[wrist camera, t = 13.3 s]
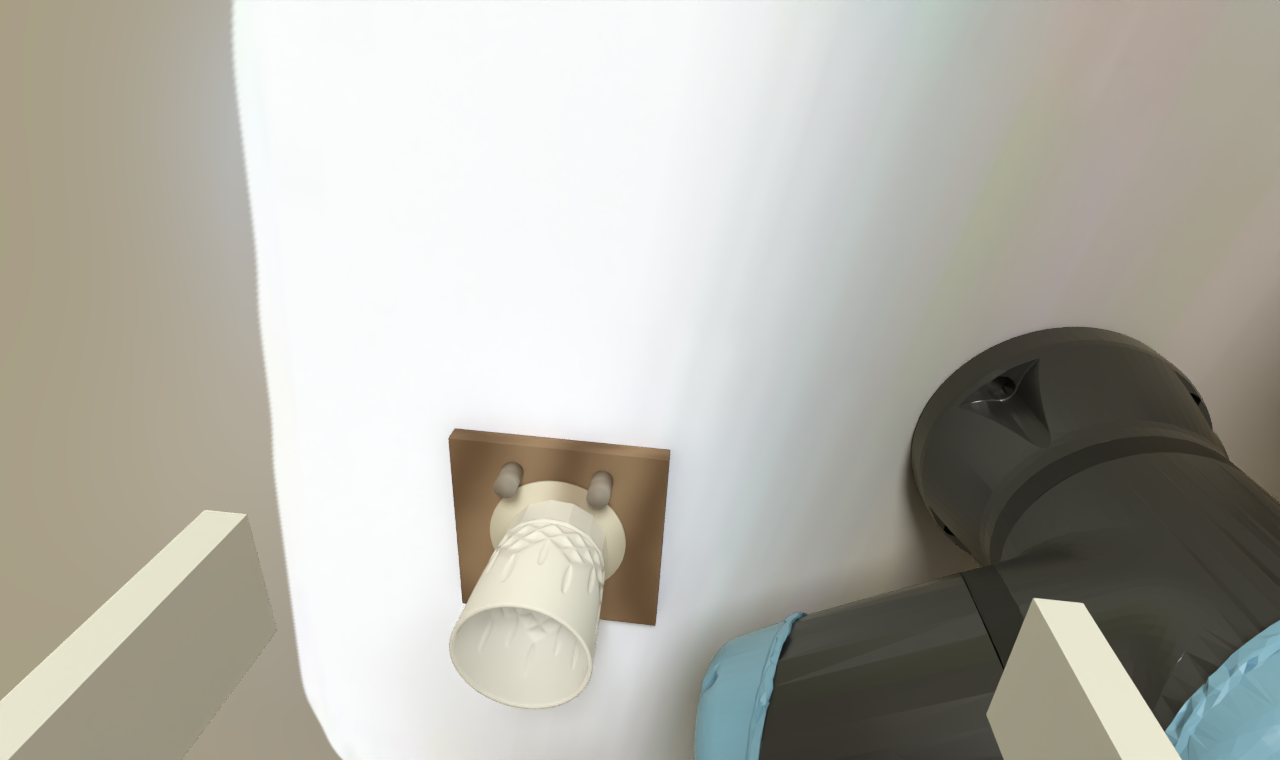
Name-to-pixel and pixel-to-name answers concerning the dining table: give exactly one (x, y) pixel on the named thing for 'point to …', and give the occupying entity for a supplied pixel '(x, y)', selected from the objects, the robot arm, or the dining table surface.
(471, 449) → the pin board
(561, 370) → the dining table surface
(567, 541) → the white cup
